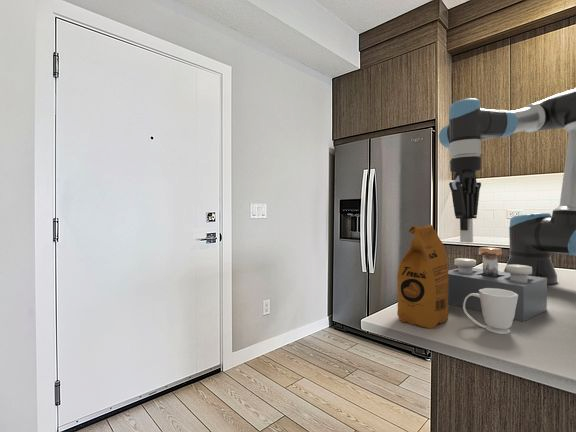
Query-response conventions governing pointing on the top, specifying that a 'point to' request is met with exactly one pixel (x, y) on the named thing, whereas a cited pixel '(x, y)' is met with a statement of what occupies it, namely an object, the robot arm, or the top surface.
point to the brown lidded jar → (490, 261)
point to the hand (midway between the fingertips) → (466, 241)
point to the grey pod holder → (529, 293)
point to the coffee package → (423, 280)
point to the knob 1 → (465, 265)
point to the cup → (496, 309)
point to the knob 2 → (519, 272)
